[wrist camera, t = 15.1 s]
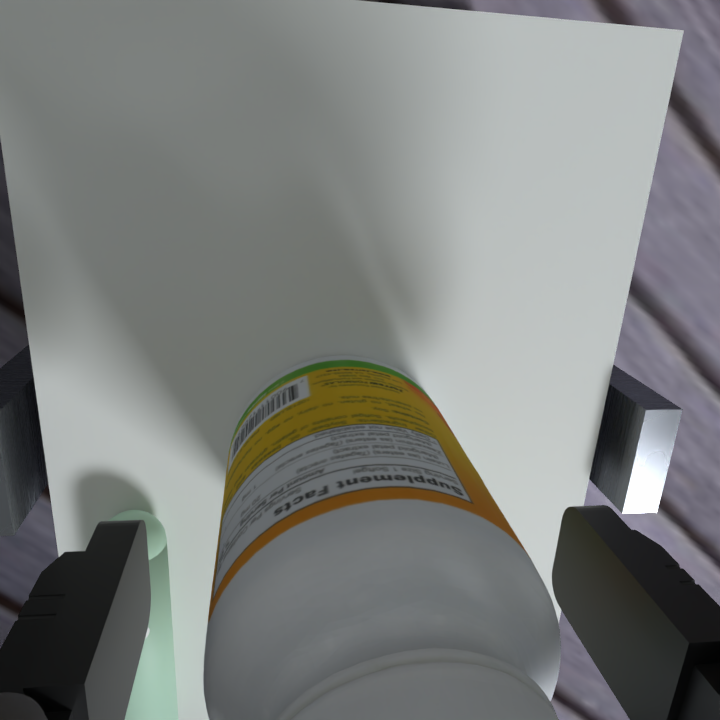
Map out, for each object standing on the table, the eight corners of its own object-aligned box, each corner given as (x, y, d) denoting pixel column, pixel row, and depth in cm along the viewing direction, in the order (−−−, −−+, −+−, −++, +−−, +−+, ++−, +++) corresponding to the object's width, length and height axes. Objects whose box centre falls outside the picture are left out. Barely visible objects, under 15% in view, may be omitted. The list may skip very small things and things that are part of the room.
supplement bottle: (427, 537, 17) (611, 1012, 8) (227, 539, 16) (172, 1075, 7) (456, 353, 15) (742, 692, 6) (232, 343, 14) (165, 723, 5)
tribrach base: (499, 586, 27) (593, 768, 19) (101, 608, 25) (21, 826, 17) (585, 40, 20) (792, -28, 12) (34, -9, 18) (-161, -134, 10)
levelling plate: (526, 691, 21) (561, 768, 18) (95, 726, 19) (68, 818, 16) (655, 37, 14) (741, 16, 11) (-1, -22, 12) (-74, -64, 9)
